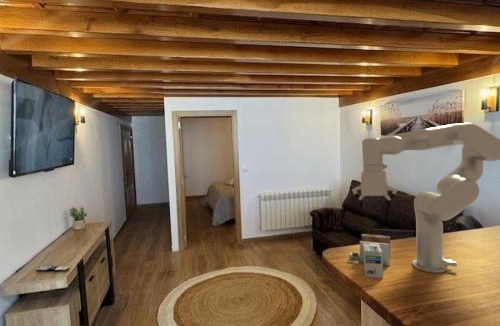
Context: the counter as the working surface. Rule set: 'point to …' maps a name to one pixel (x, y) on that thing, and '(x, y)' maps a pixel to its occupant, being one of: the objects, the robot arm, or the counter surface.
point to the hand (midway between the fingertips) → (375, 209)
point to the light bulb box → (373, 260)
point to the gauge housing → (370, 239)
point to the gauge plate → (384, 248)
